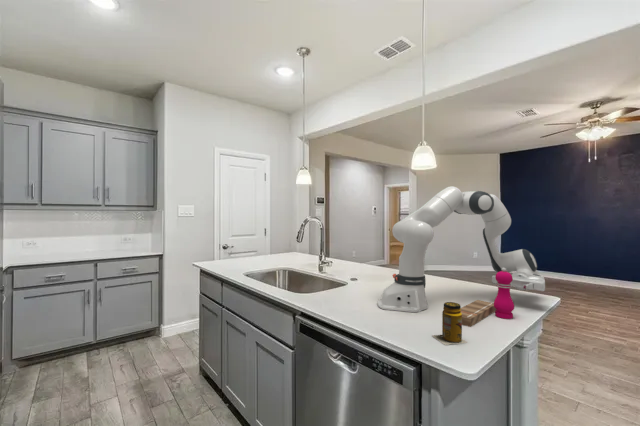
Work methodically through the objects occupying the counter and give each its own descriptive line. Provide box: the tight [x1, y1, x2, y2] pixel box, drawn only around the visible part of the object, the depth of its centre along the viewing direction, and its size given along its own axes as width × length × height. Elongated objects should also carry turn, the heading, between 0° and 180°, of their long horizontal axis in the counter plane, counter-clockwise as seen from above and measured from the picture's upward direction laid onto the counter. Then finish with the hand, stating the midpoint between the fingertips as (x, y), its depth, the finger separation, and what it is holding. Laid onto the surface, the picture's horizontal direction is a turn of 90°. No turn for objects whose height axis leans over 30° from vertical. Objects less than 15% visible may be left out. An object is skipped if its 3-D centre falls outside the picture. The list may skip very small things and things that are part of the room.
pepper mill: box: [493, 268, 515, 320], centre depth 124 cm, size 7×7×20 cm
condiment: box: [431, 301, 468, 346], centre depth 102 cm, size 7×8×12 cm
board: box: [460, 299, 496, 328], centre depth 125 cm, size 28×8×3 cm, turn 132°
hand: (512, 284), depth 132 cm, fingers open, 8 cm apart
